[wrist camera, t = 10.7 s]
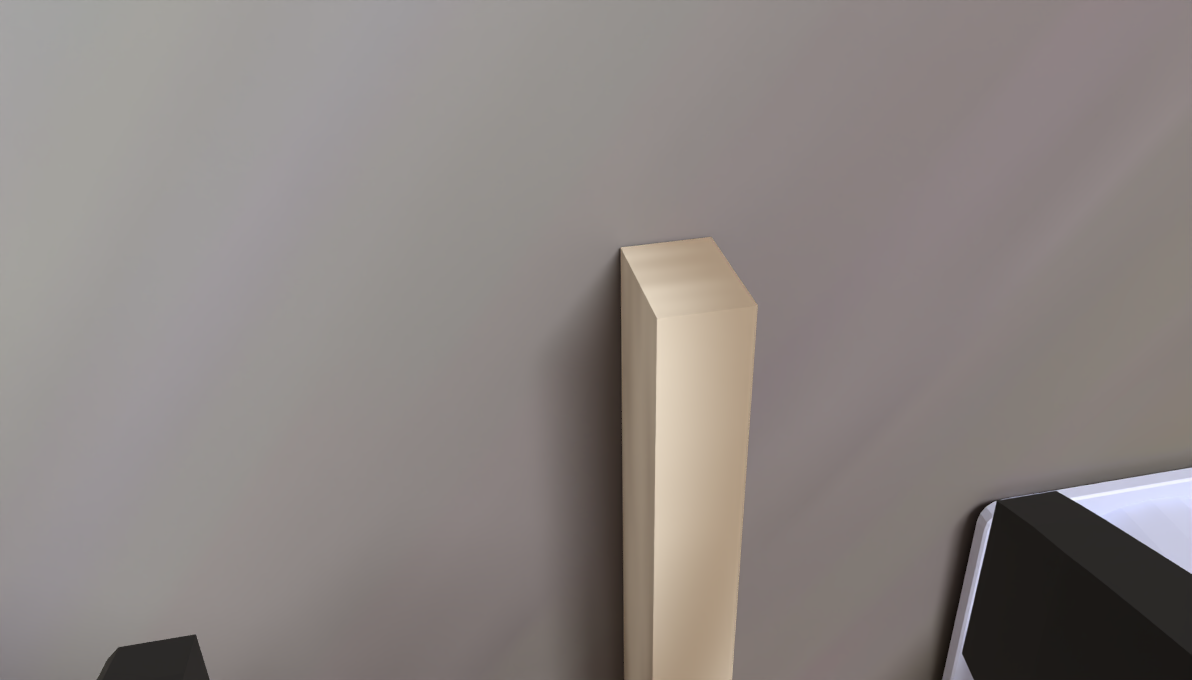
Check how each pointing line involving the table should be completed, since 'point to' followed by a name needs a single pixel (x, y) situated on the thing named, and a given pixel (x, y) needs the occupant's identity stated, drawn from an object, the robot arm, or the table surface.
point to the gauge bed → (683, 456)
